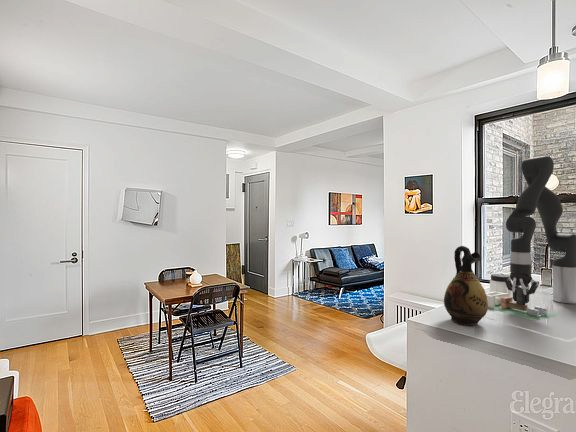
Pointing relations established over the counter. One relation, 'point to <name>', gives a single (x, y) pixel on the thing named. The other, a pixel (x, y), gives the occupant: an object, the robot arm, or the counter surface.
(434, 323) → the counter surface
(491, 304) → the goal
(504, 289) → the jar
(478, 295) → the ceramic jug
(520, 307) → the wooden peg with knob
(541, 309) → the bracket
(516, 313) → the pitch mat
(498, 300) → the ball
